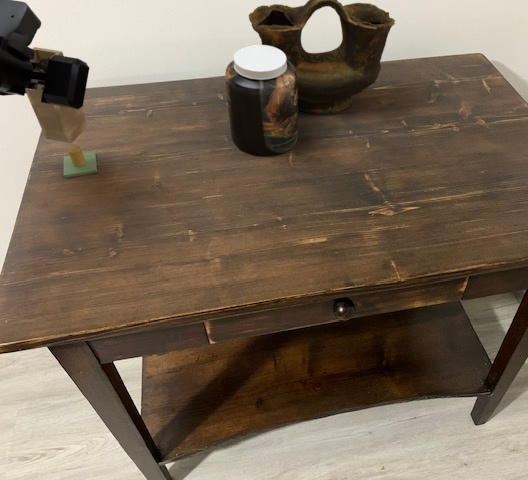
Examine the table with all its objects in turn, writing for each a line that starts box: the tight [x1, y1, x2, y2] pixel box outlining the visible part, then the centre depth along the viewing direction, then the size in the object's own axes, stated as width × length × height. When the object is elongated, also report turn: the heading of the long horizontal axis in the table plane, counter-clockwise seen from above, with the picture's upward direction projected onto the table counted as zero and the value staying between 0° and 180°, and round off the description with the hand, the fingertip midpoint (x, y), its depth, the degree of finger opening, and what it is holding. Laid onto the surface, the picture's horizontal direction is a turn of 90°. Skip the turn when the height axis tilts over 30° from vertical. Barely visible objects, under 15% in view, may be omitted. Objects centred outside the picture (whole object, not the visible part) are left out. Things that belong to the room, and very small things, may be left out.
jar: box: [224, 44, 299, 157], centre depth 89 cm, size 12×12×15 cm
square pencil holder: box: [25, 46, 89, 144], centre depth 78 cm, size 5×4×12 cm
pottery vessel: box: [248, 0, 396, 115], centre depth 95 cm, size 25×11×20 cm, turn 98°
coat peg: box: [63, 144, 98, 179], centre depth 86 cm, size 5×5×4 cm
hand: (58, 90), depth 78 cm, fingers closed on square pencil holder, 4 cm apart
